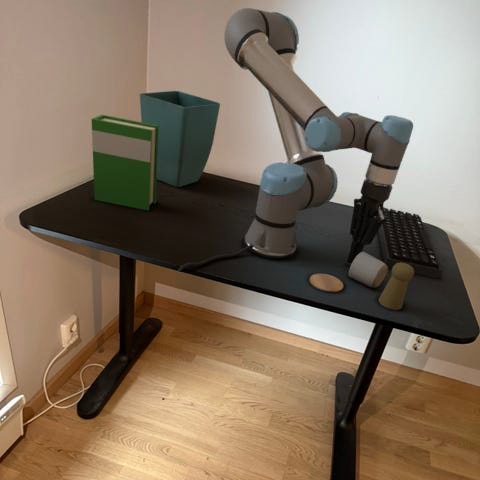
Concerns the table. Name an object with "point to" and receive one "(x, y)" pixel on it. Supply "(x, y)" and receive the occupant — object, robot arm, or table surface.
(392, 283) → the pepper shaker
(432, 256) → the computer keyboard
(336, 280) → the cork coaster
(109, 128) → the hardback book
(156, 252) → the table surface
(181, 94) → the flower pot
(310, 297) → the table surface
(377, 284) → the ceramic mug
